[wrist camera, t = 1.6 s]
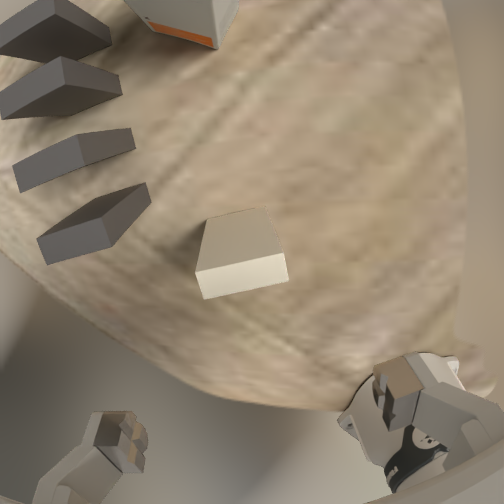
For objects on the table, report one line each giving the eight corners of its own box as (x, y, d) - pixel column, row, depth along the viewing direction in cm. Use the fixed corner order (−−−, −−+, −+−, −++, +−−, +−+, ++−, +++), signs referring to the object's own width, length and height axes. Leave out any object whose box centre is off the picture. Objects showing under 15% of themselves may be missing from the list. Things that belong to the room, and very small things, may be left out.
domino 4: (151, 202, 26) (111, 246, 17) (101, 217, 26) (47, 265, 17) (145, 182, 25) (101, 217, 16) (94, 198, 26) (36, 238, 16)
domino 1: (112, 44, 20) (55, 13, 11) (62, 67, 21) (-8, 53, 11) (108, 27, 20) (53, -9, 11) (59, 50, 20) (-9, 31, 11)
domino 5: (269, 225, 28) (288, 281, 18) (212, 238, 28) (203, 299, 18) (265, 205, 27) (283, 252, 18) (207, 219, 27) (194, 272, 18)
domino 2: (122, 94, 22) (65, 84, 13) (71, 115, 22) (1, 119, 13) (118, 75, 22) (60, 56, 12) (67, 96, 22) (-3, 93, 13)
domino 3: (136, 148, 24) (84, 165, 15) (85, 166, 24) (20, 193, 15) (130, 127, 24) (76, 134, 14) (79, 147, 24) (12, 165, 14)
